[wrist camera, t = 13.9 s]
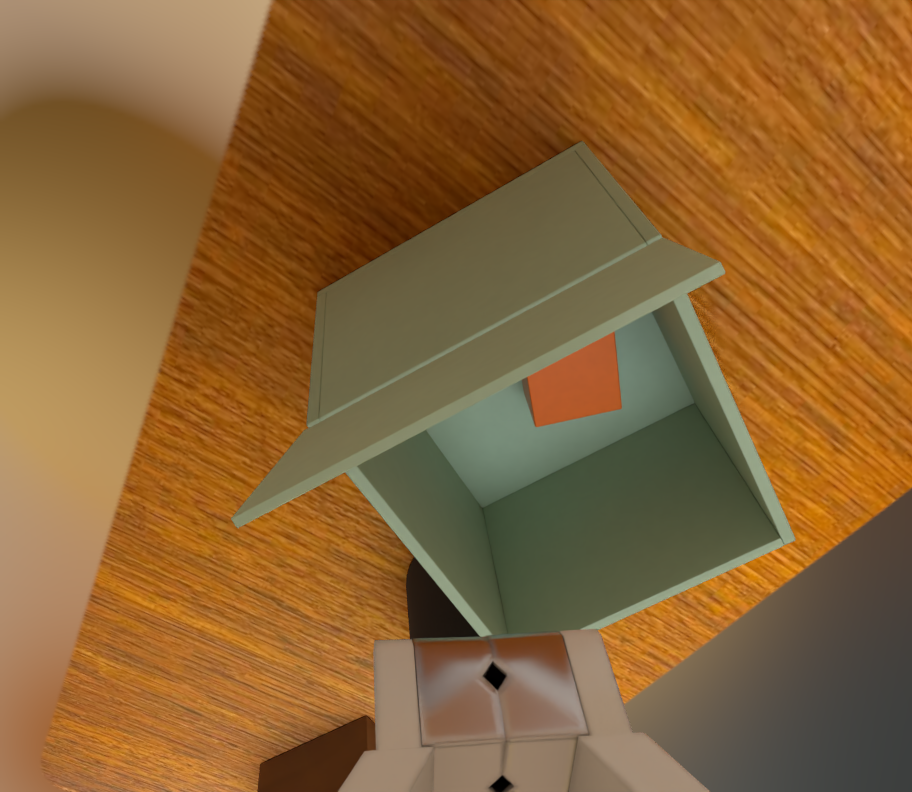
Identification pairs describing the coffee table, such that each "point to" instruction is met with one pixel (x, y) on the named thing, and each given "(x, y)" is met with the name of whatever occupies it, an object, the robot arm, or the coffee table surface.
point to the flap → (482, 368)
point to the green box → (551, 446)
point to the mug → (432, 608)
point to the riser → (319, 761)
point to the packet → (576, 385)
